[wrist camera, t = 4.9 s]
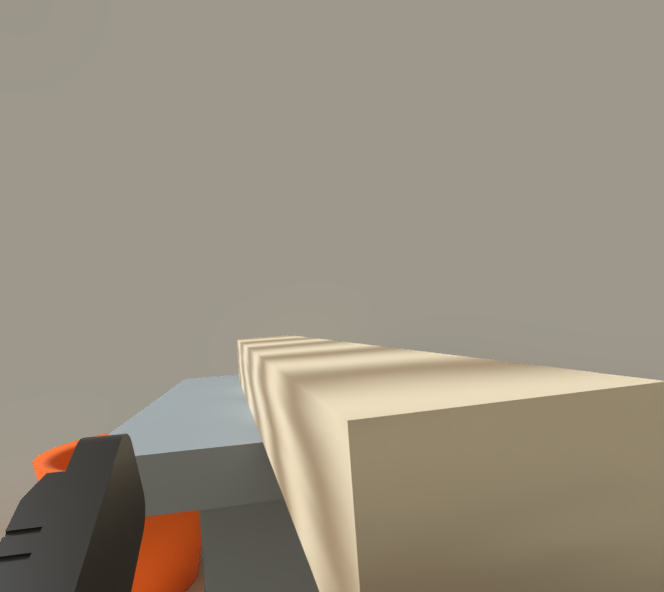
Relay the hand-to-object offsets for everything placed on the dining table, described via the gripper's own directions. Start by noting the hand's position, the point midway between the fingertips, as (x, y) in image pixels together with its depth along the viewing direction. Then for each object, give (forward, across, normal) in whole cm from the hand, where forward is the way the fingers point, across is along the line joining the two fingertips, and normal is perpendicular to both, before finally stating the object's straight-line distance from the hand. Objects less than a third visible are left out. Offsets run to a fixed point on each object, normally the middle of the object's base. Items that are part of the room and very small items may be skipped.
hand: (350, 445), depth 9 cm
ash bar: (+9, 0, +7) cm, 12 cm away
